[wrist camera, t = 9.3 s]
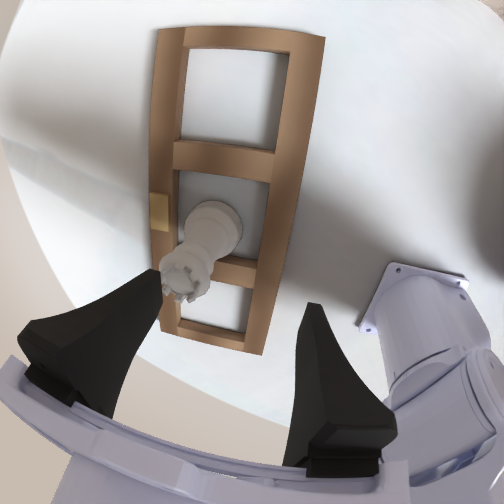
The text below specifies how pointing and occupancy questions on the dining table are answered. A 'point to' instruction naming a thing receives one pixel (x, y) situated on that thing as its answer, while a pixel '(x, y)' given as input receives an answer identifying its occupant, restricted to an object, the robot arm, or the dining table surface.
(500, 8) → the decorative plaque
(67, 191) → the dining table surface
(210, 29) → the brown wooden flat frame
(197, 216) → the rook chess piece
